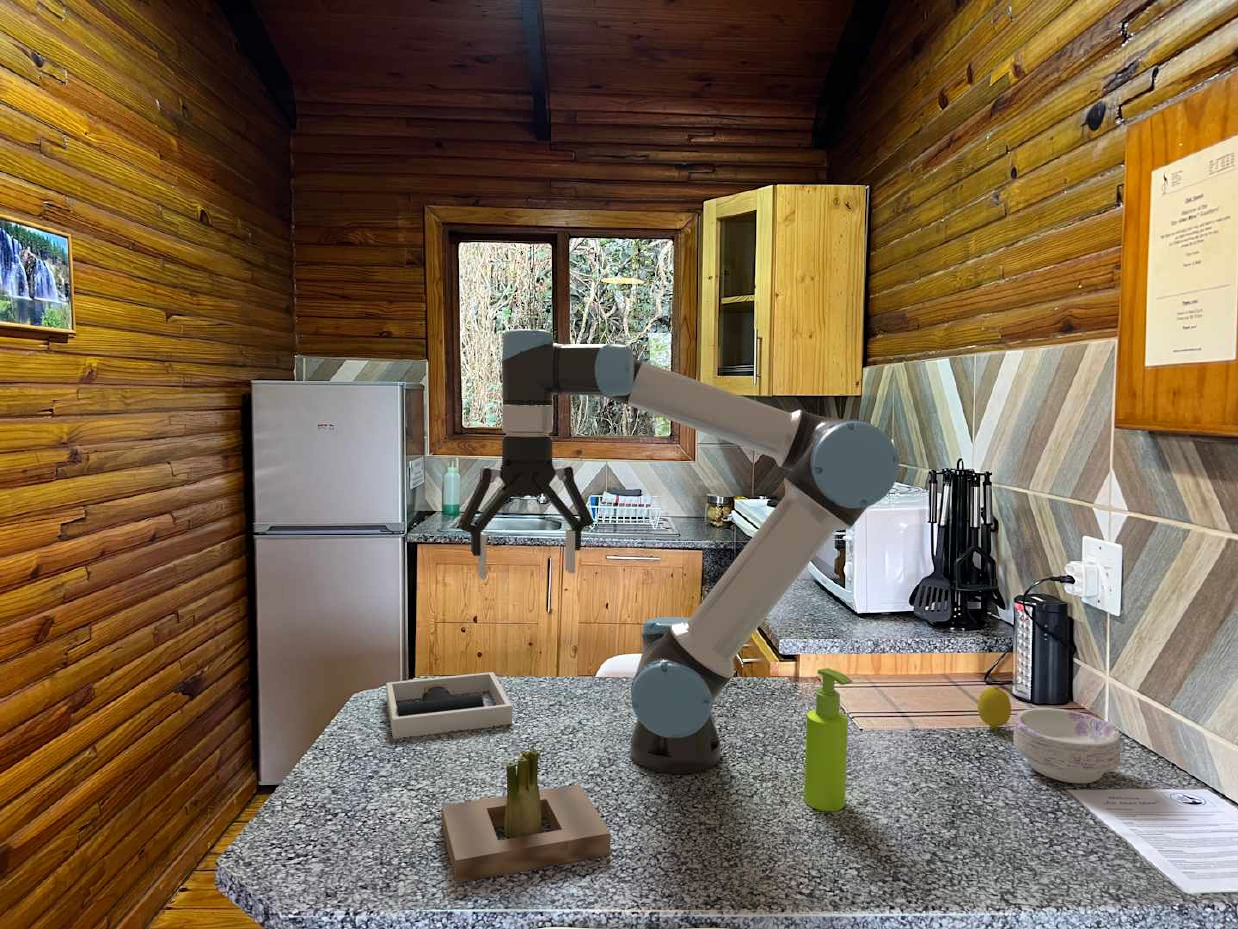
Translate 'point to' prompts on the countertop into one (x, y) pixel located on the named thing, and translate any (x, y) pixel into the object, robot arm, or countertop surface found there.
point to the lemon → (994, 707)
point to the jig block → (486, 856)
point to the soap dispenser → (826, 747)
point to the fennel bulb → (523, 797)
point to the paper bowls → (1067, 744)
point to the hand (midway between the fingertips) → (526, 574)
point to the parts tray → (448, 719)
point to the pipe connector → (438, 702)
